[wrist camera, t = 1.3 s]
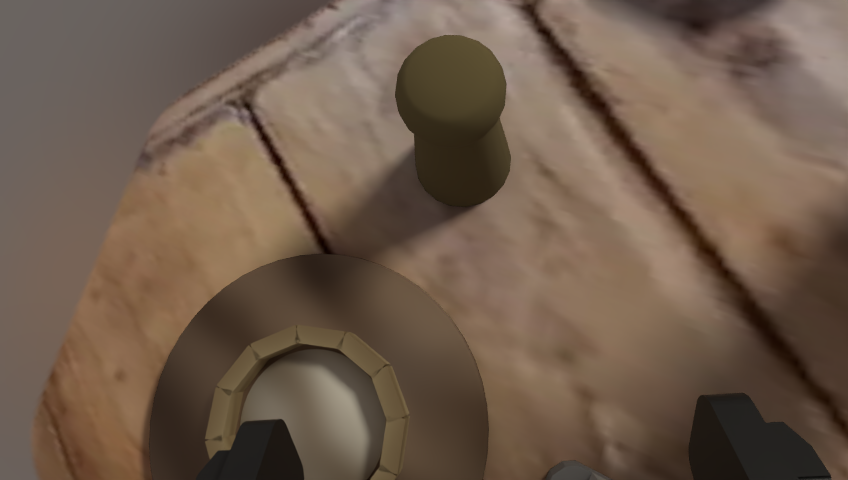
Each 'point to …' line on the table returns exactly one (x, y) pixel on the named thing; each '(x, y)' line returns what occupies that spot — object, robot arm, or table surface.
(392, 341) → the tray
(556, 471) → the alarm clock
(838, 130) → the table surface
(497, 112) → the cork
